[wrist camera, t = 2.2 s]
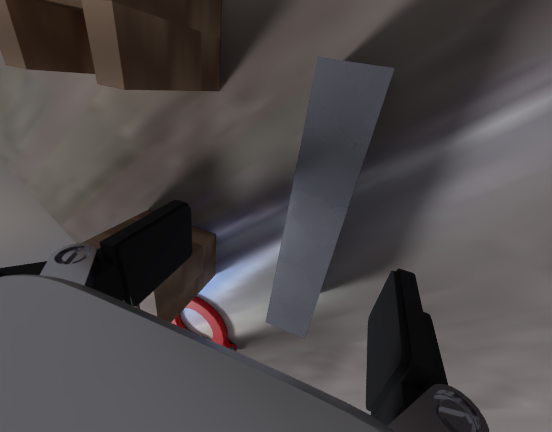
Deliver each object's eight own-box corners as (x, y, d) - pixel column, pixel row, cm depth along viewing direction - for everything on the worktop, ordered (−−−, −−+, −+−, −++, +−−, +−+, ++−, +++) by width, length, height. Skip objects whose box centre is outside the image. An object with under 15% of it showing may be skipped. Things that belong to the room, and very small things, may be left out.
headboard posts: (118, -11, 17) (-42, -74, 10) (221, -3, 15) (100, -75, 8) (152, 249, 27) (84, 296, 21) (215, 275, 25) (160, 334, 19)
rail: (336, 67, 14) (317, 56, 10) (390, 76, 14) (394, 67, 9) (287, 279, 22) (265, 322, 18) (319, 291, 22) (304, 339, 17)
